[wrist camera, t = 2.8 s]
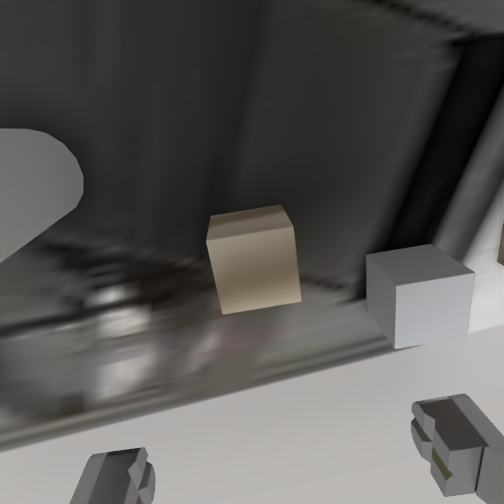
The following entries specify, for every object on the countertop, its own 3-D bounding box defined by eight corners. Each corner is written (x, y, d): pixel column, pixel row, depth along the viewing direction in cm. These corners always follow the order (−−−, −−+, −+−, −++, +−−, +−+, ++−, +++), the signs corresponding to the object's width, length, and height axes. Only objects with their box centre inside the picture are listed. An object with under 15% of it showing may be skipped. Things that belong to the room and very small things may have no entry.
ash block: (210, 215, 23) (205, 241, 18) (280, 203, 23) (293, 226, 18) (224, 277, 25) (222, 314, 20) (288, 266, 25) (301, 301, 20)
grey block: (365, 254, 25) (396, 285, 20) (430, 243, 25) (475, 272, 20) (366, 308, 27) (394, 349, 22) (426, 299, 27) (466, 337, 22)
